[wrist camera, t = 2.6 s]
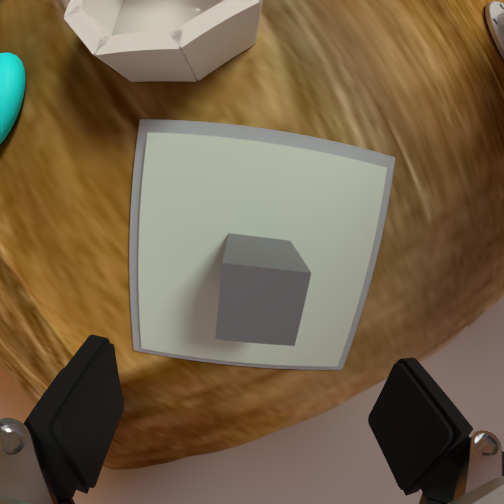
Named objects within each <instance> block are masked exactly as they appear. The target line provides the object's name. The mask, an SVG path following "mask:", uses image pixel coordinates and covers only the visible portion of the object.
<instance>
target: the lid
mask: <svg viewBox="0 0 504 504" xmlns="http://www.w3.org/2000/svg"><path fill="white" fill-rule="evenodd" d="M386 172H387V167H383V166H379V165H375V164H371V163H368V162H363V161H359V160H355V159H351V158H347V157H342V156H338V155H333V154H328V153H323V152H319V151H313V150H308V149H303V148H297V147H291V146H285V145H279V144H273V143H266V142H259V141H252V140H244V139H235V138H226V137H216V136H205V135H192V134H176V133H153V132H148V134H147V142H146V149H145V158H144V167H143V177H142V189H141V203H140V220H139V249H138V290H139V318H140V335H141V348H142V349H147V350H153V351H159V352H164V353H170V354H177V355H183V356H190V357H197V358H205V359H213V360H222V361H232V362H242V363H254V364H268V365H286V366H321V367H338V364H339V361H340V358H341V356H342V353H343V350H344V347H345V344H346V341H347V338H348V335H349V332H350V329H351V325H352V322H353V319H354V316H355V312H356V309H357V306H358V302H359V299H360V295H361V292H362V288H363V284H364V280H365V277H366V273H367V269H368V265H369V261H370V256H371V252H372V248H373V243H374V239H375V234H376V229H377V224H378V219H379V214H380V209H381V203H382V198H383V192H384V185H385V179H386Z"/></svg>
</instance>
